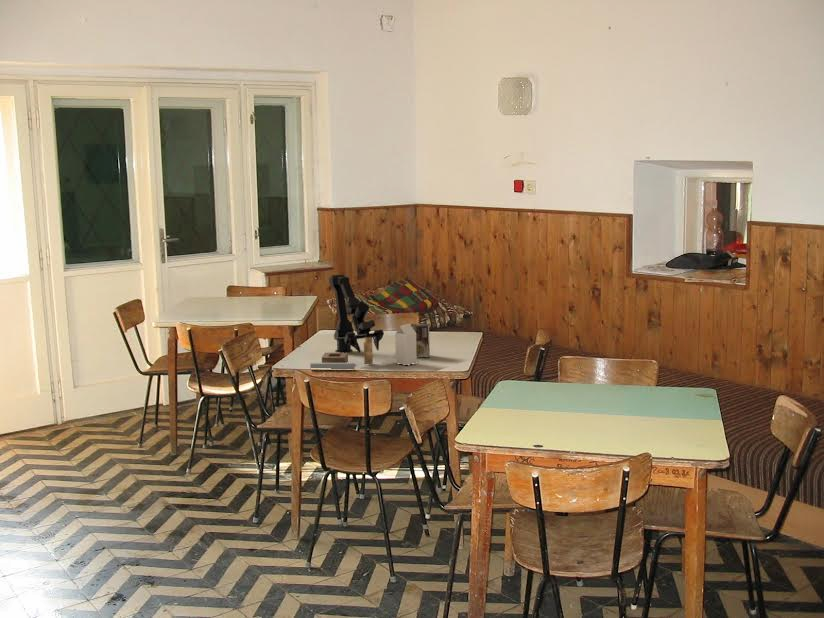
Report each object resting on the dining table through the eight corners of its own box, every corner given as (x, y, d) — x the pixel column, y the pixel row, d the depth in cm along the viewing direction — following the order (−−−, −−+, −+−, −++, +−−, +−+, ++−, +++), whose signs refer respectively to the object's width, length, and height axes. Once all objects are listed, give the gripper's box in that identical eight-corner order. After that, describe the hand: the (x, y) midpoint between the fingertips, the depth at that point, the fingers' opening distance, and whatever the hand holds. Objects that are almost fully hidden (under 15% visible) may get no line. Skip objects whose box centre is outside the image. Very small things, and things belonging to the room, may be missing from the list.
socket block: (325, 362, 461) (325, 352, 460) (348, 362, 460) (347, 352, 459) (321, 368, 450) (321, 357, 449) (345, 368, 449) (344, 357, 448)
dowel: (362, 364, 456) (361, 338, 454) (368, 363, 459) (367, 336, 457) (368, 365, 453) (368, 339, 451) (374, 364, 457) (373, 337, 454)
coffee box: (430, 355, 474) (429, 323, 471) (428, 358, 467) (428, 325, 464) (411, 355, 475) (411, 323, 472) (410, 358, 468) (409, 325, 465)
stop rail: (311, 370, 447) (311, 362, 446) (353, 370, 446) (353, 362, 445) (310, 371, 445) (310, 363, 444) (353, 371, 444) (353, 363, 443)
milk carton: (416, 363, 456) (416, 324, 453) (406, 366, 451) (405, 326, 448) (405, 361, 461) (405, 322, 458) (395, 364, 456) (394, 325, 453)
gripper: (345, 316, 452) (354, 343, 444) (382, 312, 460) (391, 339, 452) (340, 329, 460) (349, 356, 452) (376, 326, 468) (385, 352, 460)
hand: (369, 351), depth 454 cm, fingers open, 9 cm apart
